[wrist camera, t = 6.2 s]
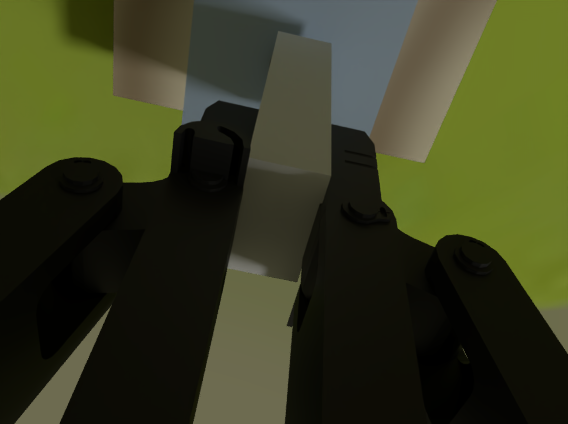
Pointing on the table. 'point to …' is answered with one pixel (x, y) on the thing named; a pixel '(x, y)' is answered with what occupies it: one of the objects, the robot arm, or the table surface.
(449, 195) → the table surface
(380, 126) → the wooden block tray
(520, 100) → the table surface
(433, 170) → the table surface
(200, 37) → the grey block
